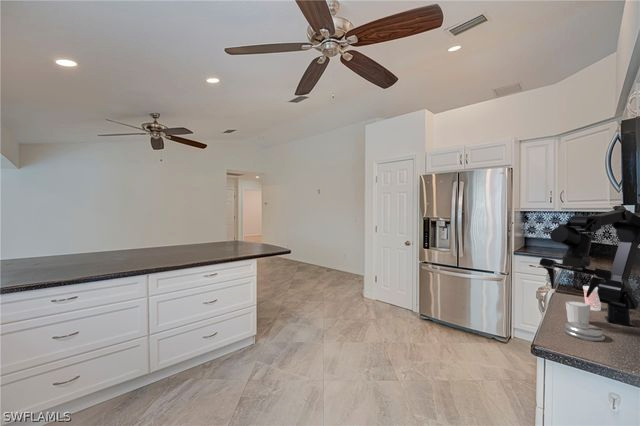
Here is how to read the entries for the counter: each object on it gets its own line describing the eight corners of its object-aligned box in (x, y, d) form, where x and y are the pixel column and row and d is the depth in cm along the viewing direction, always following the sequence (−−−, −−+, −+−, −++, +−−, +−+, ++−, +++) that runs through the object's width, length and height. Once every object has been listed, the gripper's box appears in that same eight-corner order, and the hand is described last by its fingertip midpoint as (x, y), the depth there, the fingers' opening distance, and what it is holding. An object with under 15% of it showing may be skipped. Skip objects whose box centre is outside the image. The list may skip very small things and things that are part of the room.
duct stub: (562, 326, 100) (562, 319, 100) (601, 333, 94) (601, 325, 94) (565, 336, 92) (565, 328, 92) (608, 344, 86) (608, 336, 86)
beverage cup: (579, 306, 121) (579, 274, 122) (596, 307, 120) (596, 274, 120) (589, 310, 116) (588, 277, 116) (607, 312, 114) (606, 277, 114)
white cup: (590, 322, 104) (590, 303, 104) (591, 327, 99) (591, 308, 99) (565, 317, 108) (565, 299, 108) (565, 323, 103) (565, 304, 103)
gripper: (540, 240, 101) (531, 282, 100) (614, 251, 87) (604, 301, 86) (547, 245, 108) (538, 285, 107) (616, 257, 94) (607, 302, 93)
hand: (569, 292), depth 98 cm, fingers open, 9 cm apart
